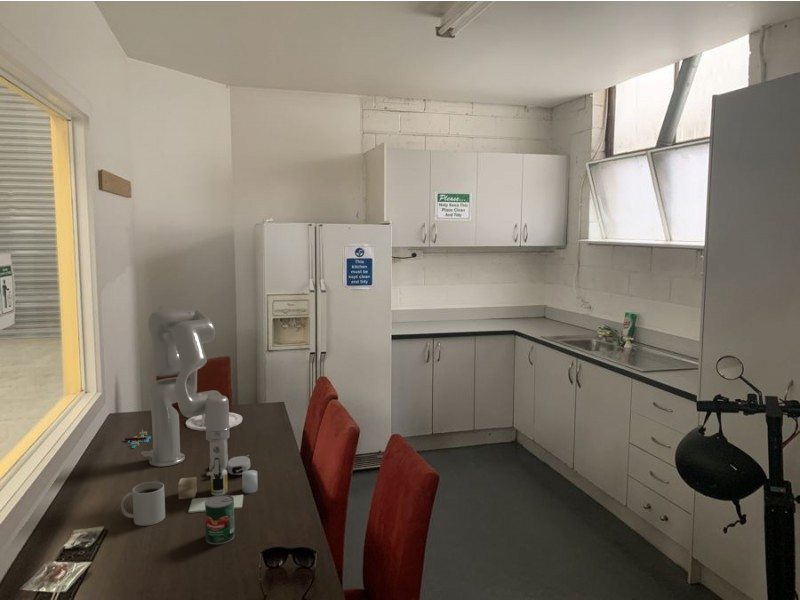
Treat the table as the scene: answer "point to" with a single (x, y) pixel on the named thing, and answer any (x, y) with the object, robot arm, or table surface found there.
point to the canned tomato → (219, 519)
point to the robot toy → (235, 465)
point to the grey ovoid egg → (249, 481)
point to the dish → (200, 423)
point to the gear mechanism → (139, 438)
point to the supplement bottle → (224, 475)
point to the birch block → (187, 488)
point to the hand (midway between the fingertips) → (219, 485)
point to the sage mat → (199, 503)
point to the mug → (147, 503)
